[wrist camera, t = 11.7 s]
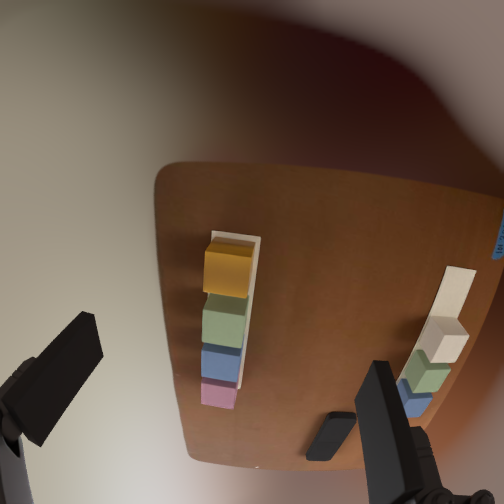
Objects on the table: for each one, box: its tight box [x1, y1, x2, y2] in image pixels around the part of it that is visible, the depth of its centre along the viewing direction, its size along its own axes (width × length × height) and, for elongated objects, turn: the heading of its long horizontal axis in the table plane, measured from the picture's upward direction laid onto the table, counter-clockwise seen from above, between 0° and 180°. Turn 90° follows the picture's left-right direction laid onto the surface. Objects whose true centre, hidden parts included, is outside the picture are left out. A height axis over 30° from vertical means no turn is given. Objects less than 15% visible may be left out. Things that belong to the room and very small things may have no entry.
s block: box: [203, 236, 256, 298], centre depth 30 cm, size 4×4×4 cm
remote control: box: [306, 412, 357, 461], centre depth 42 cm, size 5×2×15 cm
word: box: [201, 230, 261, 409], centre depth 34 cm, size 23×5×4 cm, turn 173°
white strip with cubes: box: [396, 266, 476, 418], centre depth 32 cm, size 23×5×4 cm, turn 174°
